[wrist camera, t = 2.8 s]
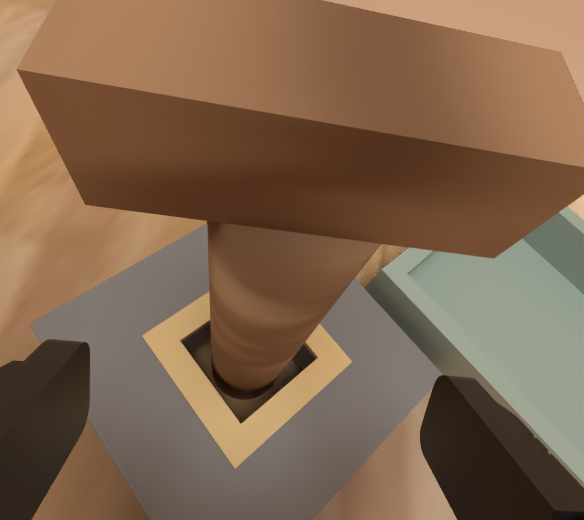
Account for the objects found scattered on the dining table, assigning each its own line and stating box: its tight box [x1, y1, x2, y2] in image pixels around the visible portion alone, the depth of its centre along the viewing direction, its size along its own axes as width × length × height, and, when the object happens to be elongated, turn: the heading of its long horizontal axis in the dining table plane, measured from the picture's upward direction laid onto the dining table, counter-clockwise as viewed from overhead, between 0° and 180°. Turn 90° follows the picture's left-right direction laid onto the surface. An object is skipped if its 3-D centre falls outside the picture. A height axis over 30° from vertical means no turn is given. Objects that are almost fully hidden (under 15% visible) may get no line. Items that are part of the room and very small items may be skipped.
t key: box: [17, 0, 584, 399], centre depth 13 cm, size 7×4×18 cm, turn 88°
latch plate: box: [30, 224, 443, 520], centre depth 20 cm, size 14×14×3 cm
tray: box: [365, 207, 584, 488], centre depth 23 cm, size 20×14×4 cm
